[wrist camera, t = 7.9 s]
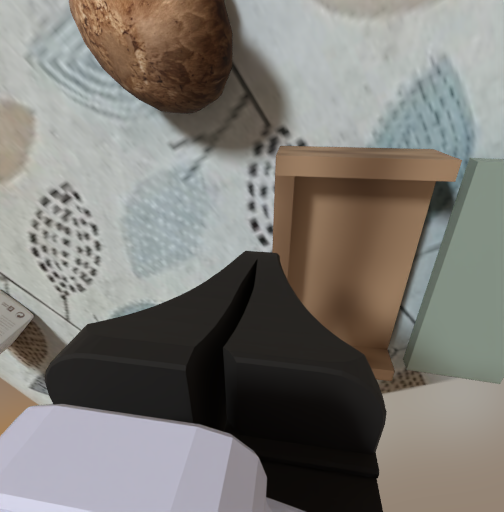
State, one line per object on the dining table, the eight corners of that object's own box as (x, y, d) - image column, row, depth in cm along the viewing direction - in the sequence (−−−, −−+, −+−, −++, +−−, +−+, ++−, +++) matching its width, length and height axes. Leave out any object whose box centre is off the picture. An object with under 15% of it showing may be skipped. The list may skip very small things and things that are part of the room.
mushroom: (206, -194, 10) (86, -152, 8) (290, 48, 16) (235, 121, 13) (99, -65, 15) (4, -13, 13) (190, 86, 21) (137, 144, 18)
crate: (272, 333, 25) (268, 366, 22) (280, 145, 18) (276, 155, 15) (380, 345, 24) (391, 381, 21) (433, 149, 17) (462, 160, 14)
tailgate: (406, 369, 22) (500, 384, 20) (478, 161, 15) (623, 166, 14) (403, 359, 22) (492, 372, 21) (469, 158, 16) (605, 162, 15)
